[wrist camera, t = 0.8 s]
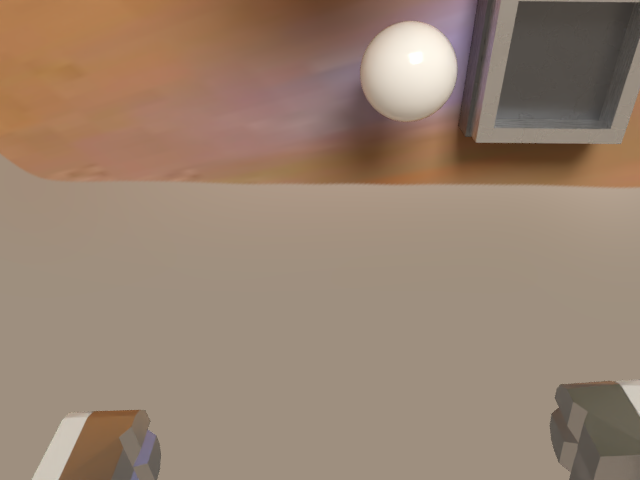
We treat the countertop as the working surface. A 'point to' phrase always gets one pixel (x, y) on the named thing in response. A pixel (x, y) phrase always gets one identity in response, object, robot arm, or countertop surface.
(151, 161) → the countertop surface
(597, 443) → the robot arm
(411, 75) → the lightbulb
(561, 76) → the socket
